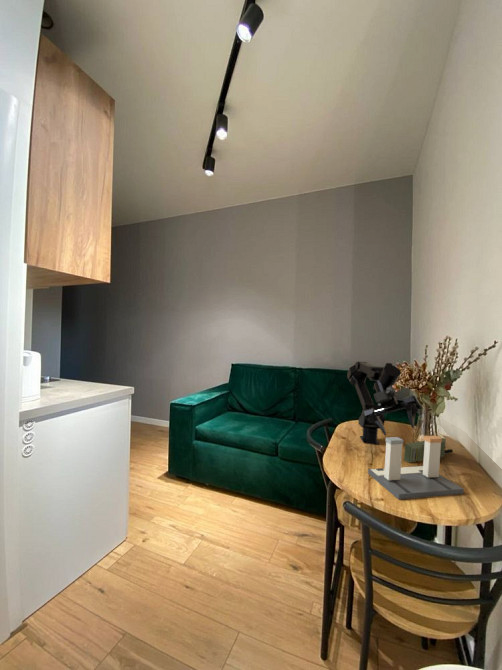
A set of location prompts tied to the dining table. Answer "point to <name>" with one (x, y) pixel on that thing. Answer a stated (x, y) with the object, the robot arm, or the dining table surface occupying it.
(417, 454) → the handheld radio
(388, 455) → the lever
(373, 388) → the robot arm
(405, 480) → the switch bank
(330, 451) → the dining table surface
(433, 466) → the lever
